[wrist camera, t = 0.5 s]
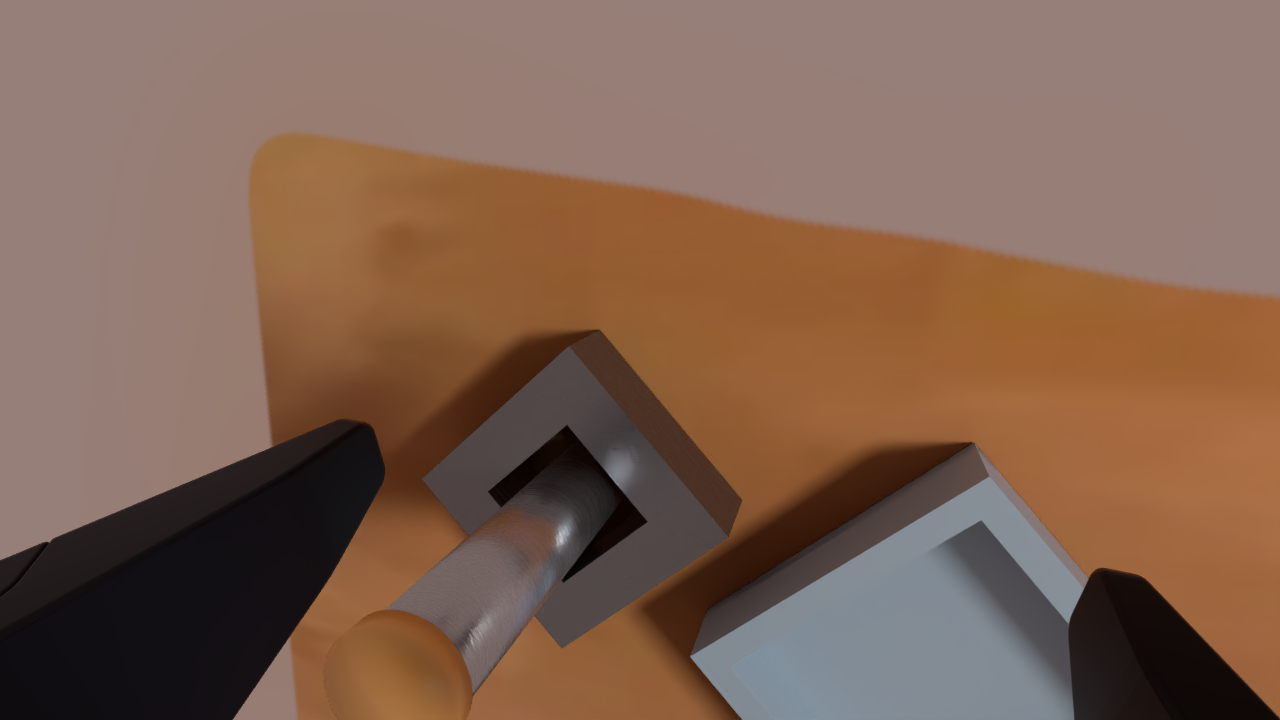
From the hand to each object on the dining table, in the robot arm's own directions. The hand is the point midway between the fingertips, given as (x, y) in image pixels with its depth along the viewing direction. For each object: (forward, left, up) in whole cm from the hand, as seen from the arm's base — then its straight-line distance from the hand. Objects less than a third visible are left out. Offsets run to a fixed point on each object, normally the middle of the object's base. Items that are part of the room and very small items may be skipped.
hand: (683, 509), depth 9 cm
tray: (-4, -13, -17) cm, 22 cm away
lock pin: (-10, 0, -17) cm, 20 cm away
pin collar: (-10, 0, -17) cm, 20 cm away
